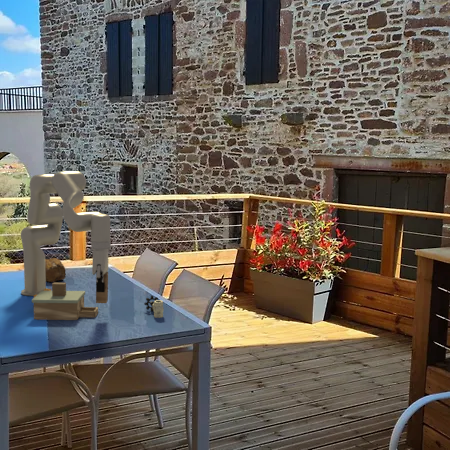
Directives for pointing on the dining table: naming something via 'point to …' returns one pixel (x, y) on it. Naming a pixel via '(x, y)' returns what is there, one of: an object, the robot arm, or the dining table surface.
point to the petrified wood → (54, 270)
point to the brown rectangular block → (103, 296)
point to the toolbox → (63, 311)
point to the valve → (155, 306)
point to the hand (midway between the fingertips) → (101, 290)
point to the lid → (58, 295)
